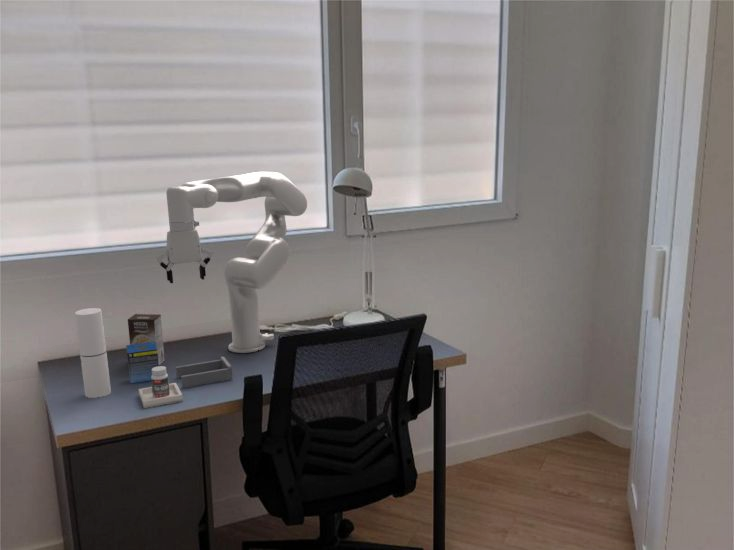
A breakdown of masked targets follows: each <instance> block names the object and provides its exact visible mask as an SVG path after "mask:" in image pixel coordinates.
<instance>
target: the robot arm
mask: <svg viewBox="0 0 734 550" xmlns="http://www.w3.org/2000/svg"><path fill="white" fill-rule="evenodd" d="M257 198H264V210H265V211H264V212H265V220H264V222H263V224H262V226H261V227H260V228H259V230H258V231H257V232H256V233H255V234H254V235H253V237H252V238H251V239H250V241H248V244H247V245H246V248H245V255H246V257H247V258H246V257H240V256H239V257H234V258H231V259H230V260H228V262H227V263H226V264H225V266H224V278H225V283H226V286H227V291H228V292H227V293H228V298H229V299H228V300H229V312H230V324H231V338H232V342H231V343H229V344H228V350H229V351H230V352H232V353H237V354H246V353H254V352H258V350H259V351H261V350H263V349H264V348H265V347H266V341H270V340H275V336H274V333H270V334H269V333H267V332H266V333H261V331H260V330H261V328H260V316H259V315H260V313H259V312H260V311H259V301H258V300H259V299H258V293H257V290H261V289H264V288H266V287H268V286H269V285H270V284H271V283H272V281H273V280H274V279H275V277H277V275H278V274H279V273H280V271H281V270H282V268H283V267H284V266H285V264H286V263H287V261H288V259H289V256H290V247H289V246H290V245H289V244H288V242H287V241H286V240H285V239H284V238H285V236H286V235H287V221H286V217H285V216H288V217H300V216H301V215H303V214H304V213H305V212H306V210H307V209H308V208H307V207H308V200H307V198H306V195H305V194H304V193H303V192H302V191H301V190H300V189H299V188H298V187H297V186H296V185H295V184H294V183H293V182H292V181H291V180H290V179H289V178H288V177H286V176H285V175H283V174H282V173H280V172H276V171H257V172H256V171H255V172H249V173H244V174H238V175H232V176H231V175H230V176H223V177H222V176H221V177H218V178H217V177H216V178H210V179H208V178H207V179H200V180H195V181H189V182H188V181H187V182H185V183H183V184H181V185H177V186H171V187H168V188H167V190H166V203H167V213H168V223H169V231H167V232H166V250H165V251H164V252H162V253H161V254H158V256H156V257H155V260H156V261H157V263H158V264H159V265H160V266H161V267H162V268H163V269H164V270H165V271H166V280H167V281H168V282H169V283H170V284H173V283H174V276H173V270H172V268H173V266H175V265H180V264H181V265H182V264H189V263H190V264H191V263H199V267H198V270H199V278H200V279H201V280H202V281H204V280H205V277H207V275H206V273H207V272H206V267H207V265H208V263H209V262H210V261H211V259H212V257H213V254H214V253H213V251H212V250H209V249H206V248H204V247H201V241H200V236H199V232H198V230H197V228H196V227H198V226H199V227H200V221H196V220H195V217H194V216H195V214H194V209H209V208H211V207H213V206H214V205H216V203H238V202H242V201H247V200H252V199H257ZM202 253H203V254H206V257H205V258H204V259H203V254H202ZM164 258H166V259H167V261H168V262H167V264H166V263H165V262H164V261H163V260H164ZM202 259H203V260H202Z"/></svg>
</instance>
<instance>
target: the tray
mask: <svg viewBox="0 0 734 550" xmlns="http://www.w3.org/2000/svg"><path fill="white" fill-rule="evenodd" d="M169 391H170V395H169V396H167V397H161V398H156V399H155V398H153V394H152V386H149V387H142V388H138V396H139V399H140V401H142V402H141V403H142V406H143V409H149V407H150V408H155V407H160V405H161V406H165V404H166V405H171V404H177V403H182V402H183V400H184V399H183V393H182V391H181V390H180V388H179V386H178V384H177V382H172V383H169ZM154 406H155V407H154Z"/></svg>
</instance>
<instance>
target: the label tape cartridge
mask: <svg viewBox="0 0 734 550" xmlns="http://www.w3.org/2000/svg"><path fill="white" fill-rule="evenodd" d="M125 345H126V358H127V364H128V365H127V366H128V373H129V374H128V375H129V383H130V384H131V383H132V384H137V382H138V383H142V382H149V381H150V382H151V376H152V368H154V367H157V366H160V365H159V361H158V352H157V347H156V342H149V343H140V344H132V345H130V344H125ZM141 346H143V347H147V348H144V349H137V348H138V347H141Z"/></svg>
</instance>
